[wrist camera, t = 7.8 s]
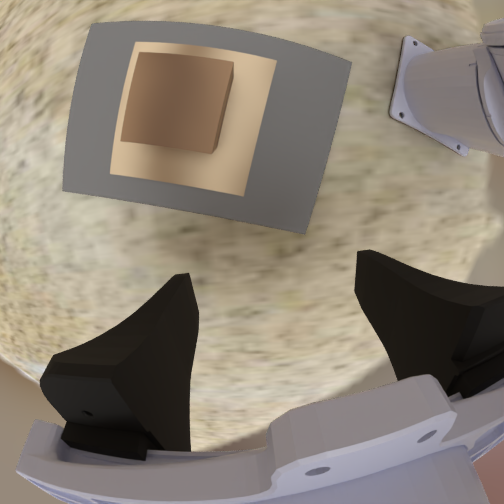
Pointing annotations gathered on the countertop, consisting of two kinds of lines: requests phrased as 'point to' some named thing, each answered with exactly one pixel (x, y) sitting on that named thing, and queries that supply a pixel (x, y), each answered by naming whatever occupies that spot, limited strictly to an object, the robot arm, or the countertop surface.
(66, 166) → the build mat
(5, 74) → the countertop surface
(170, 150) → the oak base
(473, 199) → the countertop surface
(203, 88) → the walnut cube
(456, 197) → the countertop surface
